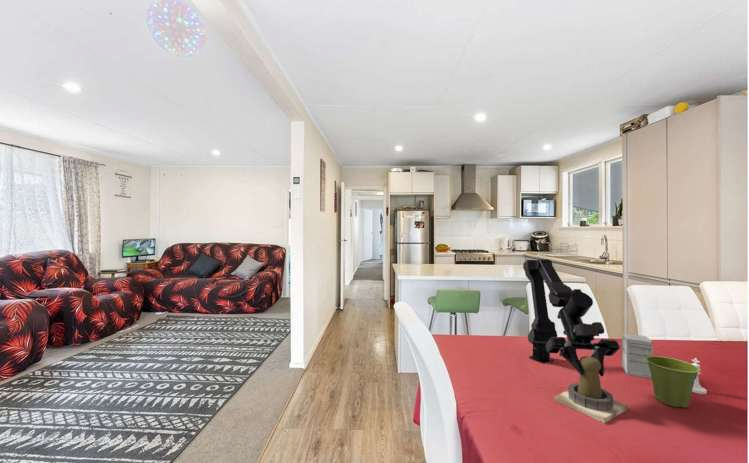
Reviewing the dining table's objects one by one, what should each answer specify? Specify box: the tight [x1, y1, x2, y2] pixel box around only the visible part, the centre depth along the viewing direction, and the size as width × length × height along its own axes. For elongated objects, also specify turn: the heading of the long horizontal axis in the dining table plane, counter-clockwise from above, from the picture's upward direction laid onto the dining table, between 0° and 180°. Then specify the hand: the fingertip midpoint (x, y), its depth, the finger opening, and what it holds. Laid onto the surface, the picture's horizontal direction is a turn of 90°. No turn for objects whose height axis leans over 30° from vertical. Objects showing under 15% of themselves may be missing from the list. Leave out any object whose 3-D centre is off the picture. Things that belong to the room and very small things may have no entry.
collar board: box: [553, 382, 628, 424], centre depth 91 cm, size 13×13×4 cm
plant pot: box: [645, 355, 702, 409], centre depth 94 cm, size 12×12×11 cm
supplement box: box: [621, 332, 654, 380], centre depth 113 cm, size 7×7×13 cm
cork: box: [577, 355, 602, 399], centre depth 92 cm, size 6×6×11 cm
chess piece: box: [691, 357, 708, 395], centre depth 101 cm, size 5×5×10 cm
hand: (592, 375), depth 90 cm, fingers closed on cork, 5 cm apart
